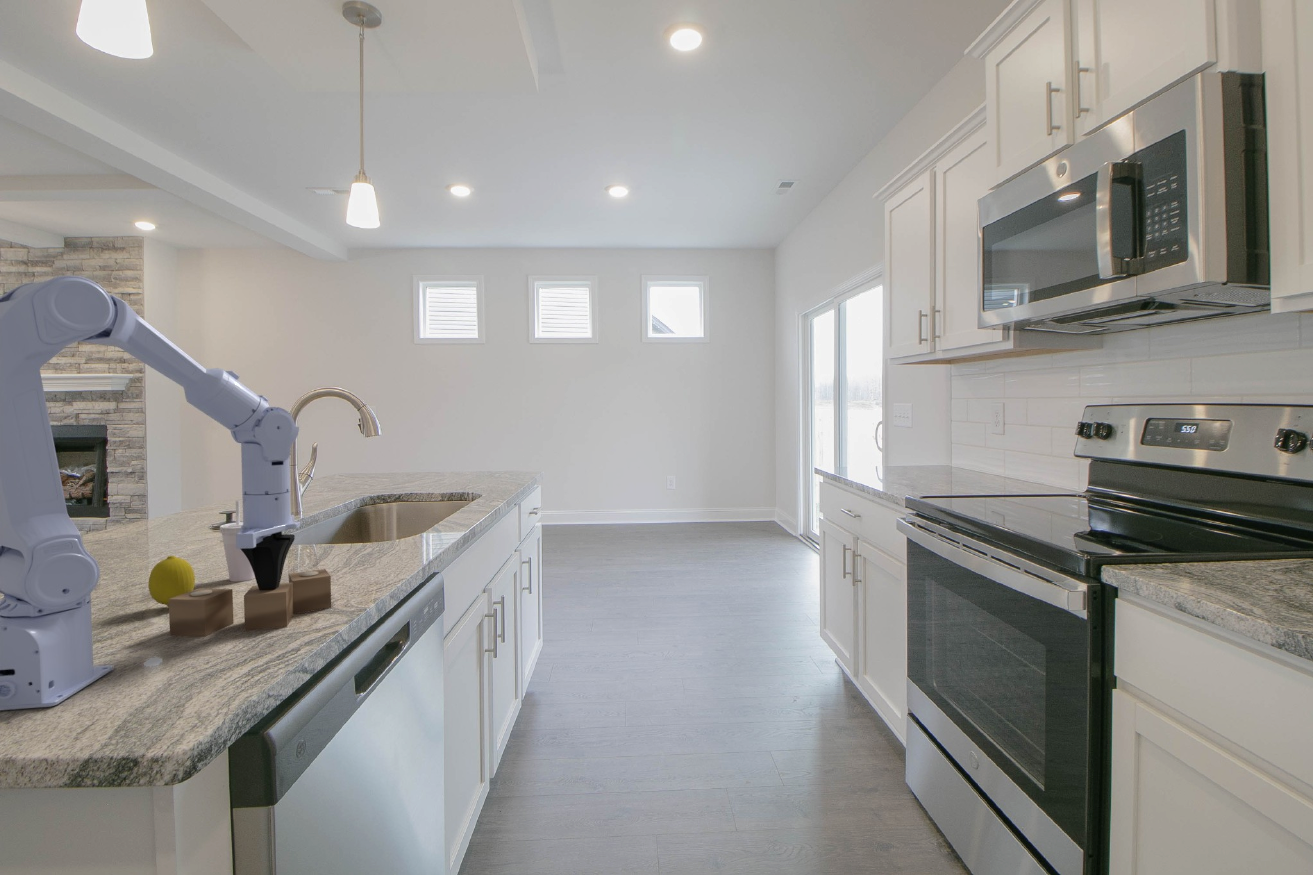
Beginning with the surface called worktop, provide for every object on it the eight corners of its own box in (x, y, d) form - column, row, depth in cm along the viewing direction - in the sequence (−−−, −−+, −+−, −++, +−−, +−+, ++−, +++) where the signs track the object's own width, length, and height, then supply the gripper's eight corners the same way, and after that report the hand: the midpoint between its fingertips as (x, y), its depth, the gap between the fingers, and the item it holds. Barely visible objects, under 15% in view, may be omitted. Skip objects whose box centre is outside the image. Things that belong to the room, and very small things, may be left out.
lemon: (170, 615, 91) (168, 561, 91) (139, 612, 92) (137, 558, 92) (204, 603, 97) (203, 552, 96) (175, 601, 98) (173, 550, 97)
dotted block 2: (331, 608, 95) (330, 574, 95) (293, 614, 92) (292, 579, 92) (325, 600, 99) (325, 567, 99) (289, 605, 96) (288, 572, 96)
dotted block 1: (205, 637, 83) (204, 598, 83) (169, 636, 83) (168, 597, 83) (233, 624, 88) (232, 587, 88) (199, 623, 88) (198, 586, 88)
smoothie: (211, 581, 109) (209, 501, 108) (245, 572, 115) (243, 497, 114) (239, 585, 107) (237, 503, 106) (272, 575, 113) (270, 498, 112)
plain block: (287, 627, 87) (286, 591, 87) (244, 631, 85) (243, 595, 85) (293, 616, 91) (292, 582, 91) (253, 620, 90) (252, 585, 89)
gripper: (277, 499, 81) (280, 602, 82) (315, 485, 95) (317, 573, 96) (216, 500, 80) (219, 605, 80) (264, 486, 94) (266, 575, 94)
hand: (269, 588), depth 88 cm, fingers closed
